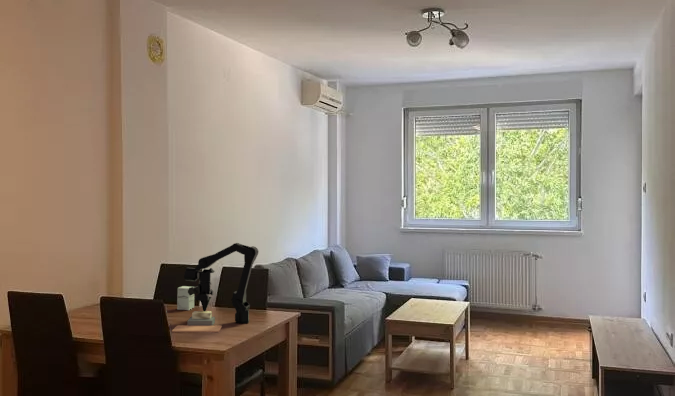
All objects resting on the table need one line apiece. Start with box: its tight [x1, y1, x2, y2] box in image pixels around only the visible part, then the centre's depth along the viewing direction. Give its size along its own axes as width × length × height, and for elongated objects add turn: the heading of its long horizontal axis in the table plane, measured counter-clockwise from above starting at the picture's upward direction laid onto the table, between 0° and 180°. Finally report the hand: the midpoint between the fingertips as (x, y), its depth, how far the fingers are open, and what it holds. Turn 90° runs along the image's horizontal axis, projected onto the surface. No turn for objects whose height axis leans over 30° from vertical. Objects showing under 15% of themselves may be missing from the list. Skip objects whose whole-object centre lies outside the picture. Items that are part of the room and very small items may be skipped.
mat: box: [171, 324, 223, 333], centre depth 298 cm, size 22×12×1 cm, turn 93°
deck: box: [186, 316, 216, 326], centre depth 309 cm, size 12×10×3 cm
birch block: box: [191, 310, 213, 319], centre depth 310 cm, size 9×5×3 cm, turn 93°
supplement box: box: [176, 285, 195, 311], centre depth 350 cm, size 7×7×13 cm
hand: (204, 311), depth 318 cm, fingers closed
